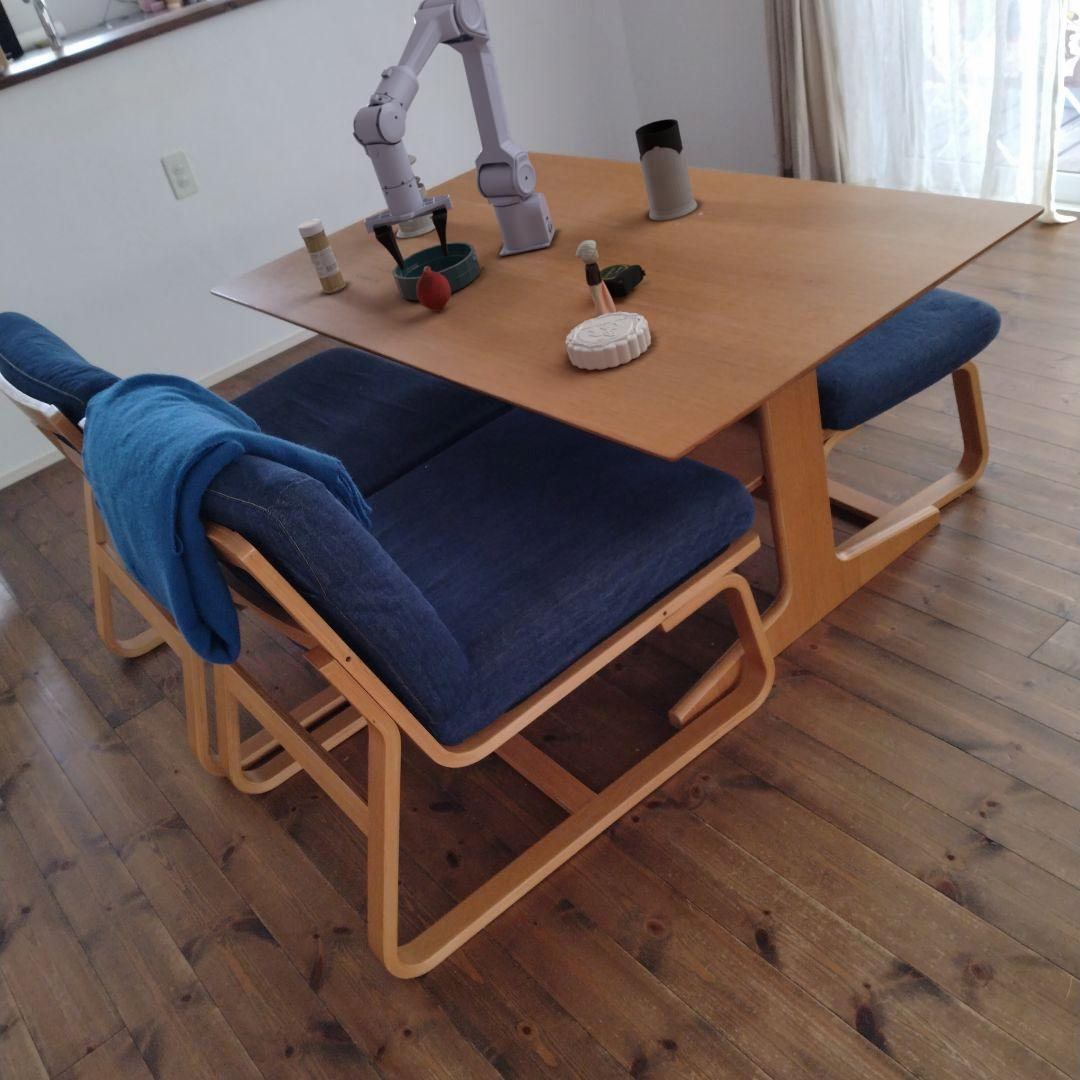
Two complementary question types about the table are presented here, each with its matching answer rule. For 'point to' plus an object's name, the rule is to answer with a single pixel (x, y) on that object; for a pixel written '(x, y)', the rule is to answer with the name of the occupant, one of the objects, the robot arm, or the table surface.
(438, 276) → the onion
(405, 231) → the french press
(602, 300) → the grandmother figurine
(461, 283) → the bowl
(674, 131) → the glass holder
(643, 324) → the mooncake
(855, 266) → the table surface
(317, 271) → the sprinkles bottle
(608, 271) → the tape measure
